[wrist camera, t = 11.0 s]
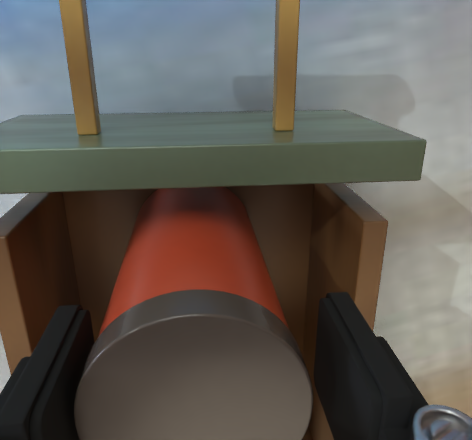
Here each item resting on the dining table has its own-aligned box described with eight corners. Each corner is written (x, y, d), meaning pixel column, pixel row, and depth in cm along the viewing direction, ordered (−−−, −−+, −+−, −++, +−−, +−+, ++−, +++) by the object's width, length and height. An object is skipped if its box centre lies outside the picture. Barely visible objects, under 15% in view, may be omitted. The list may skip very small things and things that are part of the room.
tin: (127, 177, 17) (54, 322, 8) (253, 173, 18) (322, 307, 8) (138, 288, 19) (89, 509, 10) (252, 282, 20) (307, 488, 10)
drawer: (-10, -45, 15) (-154, -115, 9) (358, -38, 16) (466, -96, 10) (75, 411, 23) (31, 548, 16) (320, 391, 24) (366, 513, 18)
